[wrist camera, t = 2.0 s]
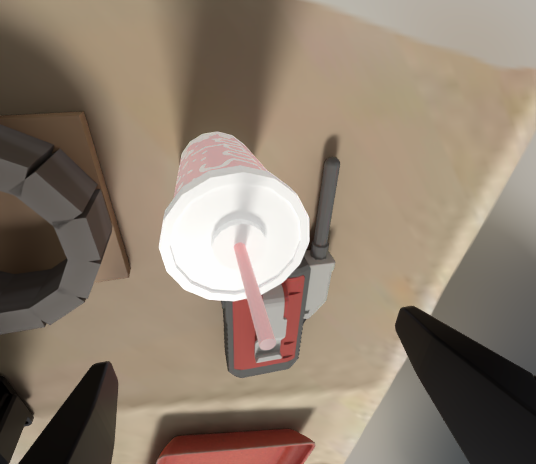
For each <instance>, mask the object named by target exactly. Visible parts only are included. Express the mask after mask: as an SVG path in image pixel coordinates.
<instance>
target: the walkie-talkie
mask: <svg viewBox="0 0 536 464" xmlns="http://www.w3.org/2000/svg"><path fill="white" fill-rule="evenodd" d="M339 168H340V161H339V160H338V159H337V158H336V157H329V158H328V159H326V161H325V163H324V170H323V178H322V185H321V192H320V199H319V207H318V214H317V221H316V228H315V236H314V240H313V241H312V245H311V250H309V251H305V254H304V256H303V258H302V261H301V263H300V265H299V266H298V267H297V268H296V269H295V270H294V271H293V272H292V273H291V274H290V276H289V277H288V278H287V279H286V280H285V281H284V282H283V283H281V284H280V285H278V286H276V287H274V288H273V289H271V290H269V291H267V292H265V293H264V294H262V295H261V296H262V299H263V302H264V305H265V309H266V312H267V315H268V318H269V321H270V324H271V327H272V330H273V334H274V337H275V340H276V345H275V347H274V348H272V349H270V350H262V349H260V347H259V343H258V339H257V335H256V331H255V328H254V324H253V320H252V316H251V312H250V308H249V305H248V301H247V299H243V300H238V301H222V300H221V304H222V309H223V314H224V315H223V318H224V320H223V321H224V340H225V341H224V343H225V355H226V361H227V368H228V372H230V373H231V374H233V375H234V376H236V377H239V378H244V377H249V376H255V375H260V374H265V373H270V372H275V371H281V370H286V369H289V368H290V367H291V366H292V365H293V364H294V363H295V362H296V361H297V359H298V358H299V357H298V355H299V351H300V349H299V347H300V343H301V340H300V339H301V335H302V330H303V328H302V326H303V323H304V322H305V321H306V319H308V318H310V317H311V316H312V315H313V314H314V313H315V312H316V311H317V310H318V309H319V308H320V307H321V306H322V305H323V304H324V303H325V301H326V299H327V294H328V289H329V284H330V278H331V273H332V271H333V270H334V266H335V260H334V259H333V257H332V256H331V254H330V253H329V251H328V246H329V243H328V242H327V240H328V234H329V228H330V222H331V216H332V210H333V204H334V198H335V192H336V186H337V180H338V174H339Z"/></svg>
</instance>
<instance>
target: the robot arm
mask: <svg viewBox="0 0 536 464" xmlns="http://www.w3.org/2000/svg"><path fill="white" fill-rule="evenodd" d="M395 329H396V332H397V334H398V336H399V338H400V340H401V343H402V345H403V347H404V349H405V351H406V353H407V355H408V357H409V360H410V362H411V364H412V366H413V368H414V370H415V372H416V374H417V376H418V377H419V379H420V381H421V383H422V384H423V386H424V387H425V389H426V391H427V393H428V394H429V395H430V397H431V399H432V401H433V403H434V404H435V406H436V408H437V409H438V411H439V413H440V414H441V416H442V418H443V420H444V421H445V423H446V425H447V426H448V428H449V430H450V431H451V433H452V435H453V436H454V438H455V440H456V441H457V443H458V445H459V446H460V448H461V450H462V451H463V453H464V455H465V456H466V458H467V460H468V461H469V463H470V464H536V376H535V375H534V376H533V374H532V373H530V372H528V371H526V370H525V369H523V368H521V367H520V366H518V365H516V364H514V363H513V362H511V361H509V360H507V359H505V358H504V357H502V356H500V355H499V354H497V353H495V352H493V351H492V350H490V349H488V348H486V347H485V346H483V345H481V344H479V343H478V342H476V341H474V340H472V339H471V338H469V337H467V336H465V335H464V334H462V333H460V332H458V331H457V330H455V329H453V328H451V327H450V326H448V325H446V324H444V323H443V322H441V321H439V320H437V319H436V318H434V317H432V316H431V315H429V314H427V313H425V312H424V311H422V310H420V309H418V308H417V307H415V306H407V307H402V308H401V309H400V311H399V314H398V317H397V320H396V323H395ZM117 398H118V379H117V376H116V374H115V371H114V369H113V366H112V364H111V363H110V362H109V361H106V362H100V363H96V364H94V365H92V366H91V368H90V369H89V370H88V372H87V373H86V374H85V376H84V377H83V378H82V380H81V381H80V382H79V384H78V385H77V386H76V388H75V389H74V390H73V392H72V393H71V394H70V396H69V397H68V398H67V400H66V401H65V402H64V404H63V405H62V406H61V408H60V409H59V410H58V412H57V413H56V414H55V416H54V417H53V418H52V420H51V421H50V422H49V424H48V425H47V426H46V428H45V429H44V430H43V431H42V433H41V434H40V435H39V437H38V438H37V439H36V441H35V442H34V443H33V445H32V446H31V447H30V449H29V450H28V451H27V453H26V454H25V455H24V457H23V458H22V459H21V461H20V462H19V463H18V464H111V461H112V455H113V449H114V441H115V428H116V413H117ZM33 419H34V417H33V415H32V414H31V413H30V411H29V410H28V409H27V407H26V406H25V404H24V403H23V402H22V400H21V399H20V398H19V396H18V395H17V393H16V392H15V391H14V389H13V388H12V387H11V385H10V384H9V382H8V381H7V380H6V378H5V377H3V376H0V464H9V463H10V460H11V458H12V455H13V453H14V450H15V448H16V445H17V443H18V440H19V438H20V435H21V433H22V430H23V428H24V427H25V426H29V425H31V424H32V421H33Z"/></svg>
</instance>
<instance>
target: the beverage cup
mask: <svg viewBox="0 0 536 464" xmlns="http://www.w3.org/2000/svg"><path fill="white" fill-rule="evenodd" d="M309 242H310V238H309V216H308V214H307V212H306V211H305V209H304V207H303V205H302V203H301V201H300V199H299V197H298V195H297V194H296V192H294V191H293V190H292V189H291V187H289V186H288V185H287V184H285V183H284V182H283V181H281V180H280V179H279V178H277V177H276V176H274V175H273V174H272V173H270V172H268V170H267V169H266V168H265V167H264V166H263V165H262V164H261V163H260V162H259V160H258V159H257V158H256V157H255V156H254V155H253V154H252V153H251V152H250V150H249V149H248V148H247V147H246V146H245V145H244V144H243V143H242V142H240V141H239V140H238V139H236V138H235V137H234V136H233V135H229V134H226V133H222V132H211V133H204V134H201V135H200V136H198V137H197V138H195V139H193V140H192V141H190V142H189V144H188V145H187V147H186V148H185V149H184V151H183V152H182V155H181V160H180V166H179V171H178V177H177V183H176V188H175V194H174V199H173V200H172V202H171V203H170V204H169V206H168V207H167V209H166V210H165V214H164V218H163V224H162V230H161V236H160V242H159V250H160V253H161V256H162V259H163V262H164V265H165V268H166V271H167V272H168V273H169V274H170V275H171V276H172V277H173V278H174V279H175V280H176V281H177V282H178V283H179V284H180V285H181V286H182V288H183V289H184V290H187V291H189V292H191V293H194V294H196V295H199V296H201V297H203V298H206V299H208V300H222V301H238V300H243V299H247V301H248V305H249V308H250V312H251V316H252V320H253V324H254V328H255V331H256V335H257V339H258V343H259V347H260V349H262V350H270V349H272V348H274V347H275V345H276V340H275V337H274V334H273V330H272V327H271V324H270V321H269V318H268V315H267V312H266V309H265V305H264V302H263V299H262V296H261V295H262V294H264V293H265V292H267V291H269V290H271V289H273V288H274V287H276V286H278V285H280V284H281V283H283V282H284V281H285V280H286V279H287V278H288V277H289V276H290V274H291V273H292V272H293V271H294V270H295V269H296V268H297V267H298V266H299V265H300V263H301V261H302V258H303V256H304V254H305V251H306V249H307V247H308V244H309Z"/></svg>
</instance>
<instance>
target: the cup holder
mask: <svg viewBox="0 0 536 464" xmlns="http://www.w3.org/2000/svg"><path fill="white" fill-rule="evenodd" d="M130 269H131V268H130V265H129V262H128V258H127V255H126V251H125V248H124V245H123V241H122V238H121V235H120V231H119V228H118V225H117V221H116V218H115V214H114V211H113V208H112V204H111V201H110V198H109V194H108V191H107V188H106V184H105V181H104V177H103V174H102V171H101V167H100V164H99V161H98V157H97V154H96V151H95V147H94V144H93V141H92V137H91V134H90V130H89V127H88V124H87V120H86V117H85V114H84V111H83V112H64V113H44V114H24V115H5V116H0V334H6V333H12V332H18V331H24V330H30V329H36V328H42V327H45V325H46V323H47V324H49V325H51V324H52V323H54V322H55V321H57V320H58V319H60V318H61V317H63V316H65V315H66V314H68V313H69V312H71V311H72V310H74V309H75V308H77V307H78V306H80V305H81V304H83V303H84V302H85V300H86V299H88V296H89V294H90V291H91V289H92V286H93V283H95V282H102V281H109V280H115V279H122V278H129V274H130Z"/></svg>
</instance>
